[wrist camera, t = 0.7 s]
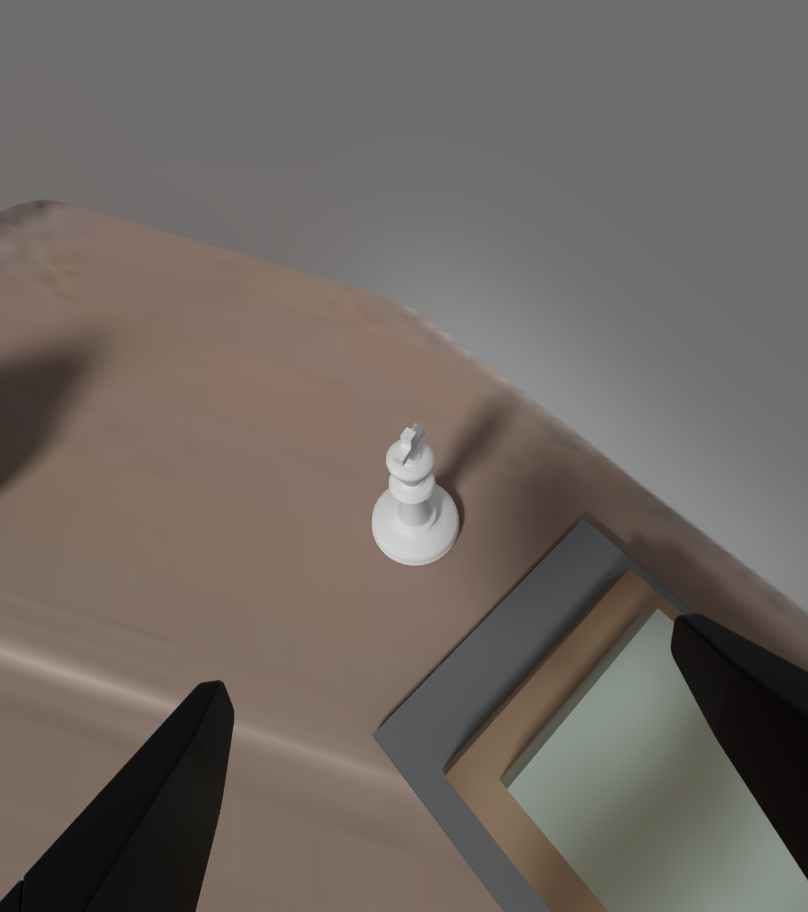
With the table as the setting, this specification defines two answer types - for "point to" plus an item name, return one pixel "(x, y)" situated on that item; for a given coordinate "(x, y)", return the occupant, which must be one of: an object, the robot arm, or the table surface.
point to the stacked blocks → (621, 778)
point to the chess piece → (414, 505)
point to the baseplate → (498, 693)
